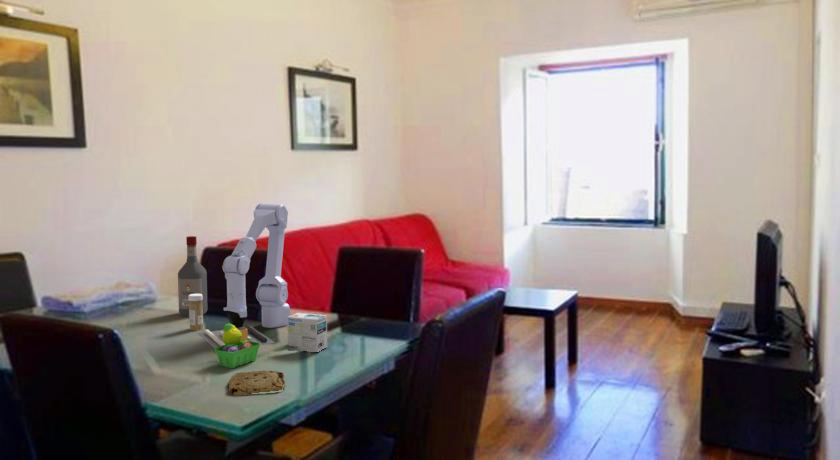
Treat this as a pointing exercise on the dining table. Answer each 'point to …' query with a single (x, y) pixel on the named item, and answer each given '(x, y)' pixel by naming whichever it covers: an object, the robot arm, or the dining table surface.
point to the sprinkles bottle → (195, 312)
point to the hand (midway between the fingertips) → (237, 334)
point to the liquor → (191, 279)
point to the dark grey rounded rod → (256, 333)
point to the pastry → (256, 382)
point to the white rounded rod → (214, 337)
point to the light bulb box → (307, 332)
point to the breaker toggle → (243, 333)
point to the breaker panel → (220, 335)
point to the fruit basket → (235, 348)
